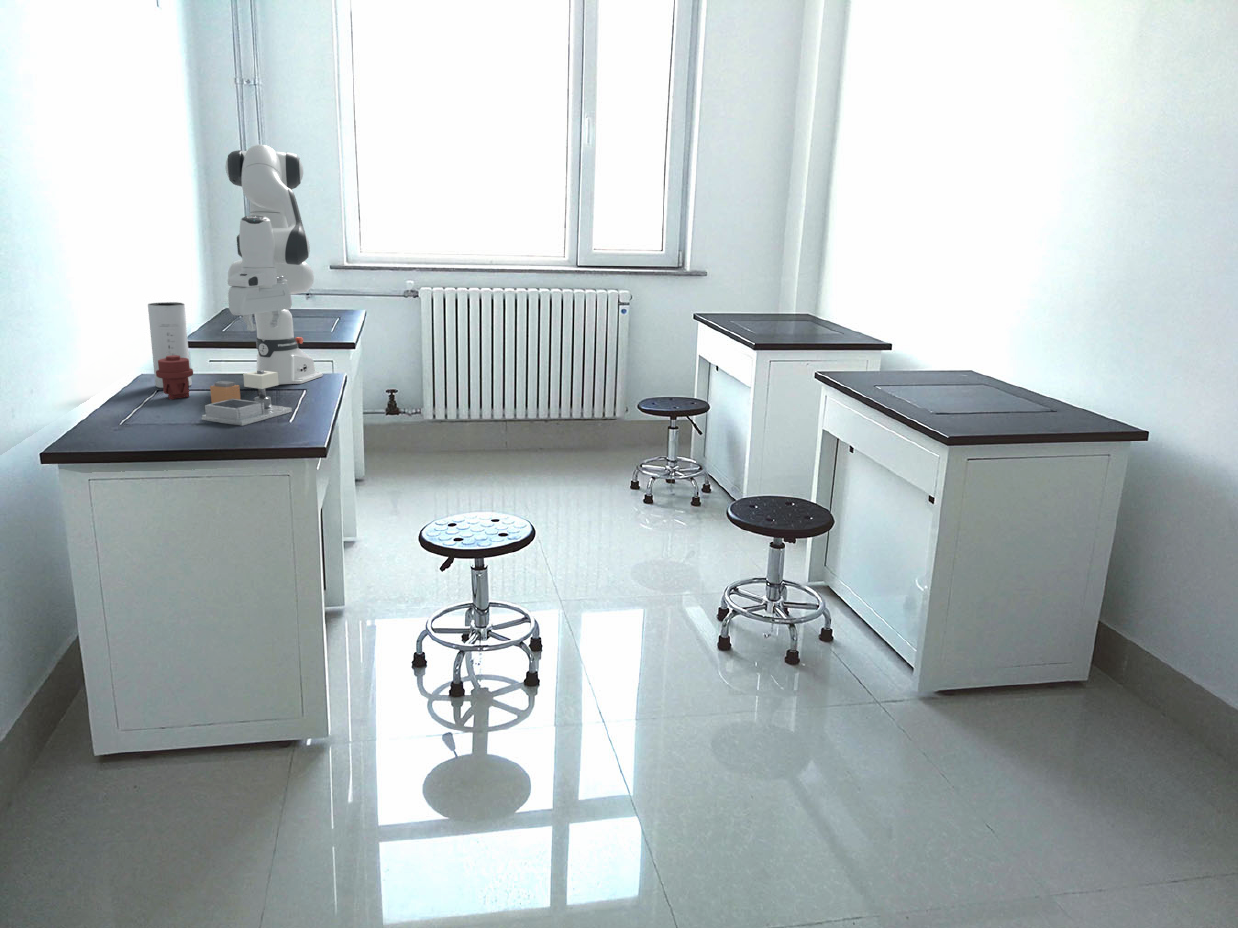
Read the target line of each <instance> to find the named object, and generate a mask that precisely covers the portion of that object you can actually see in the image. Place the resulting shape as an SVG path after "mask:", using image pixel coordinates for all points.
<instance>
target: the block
mask: <svg viewBox="0 0 1238 928" xmlns="http://www.w3.org/2000/svg"><path fill="white" fill-rule="evenodd" d="M213 383H214V385H210V386H209V390H210V401H211V404H212V403H216V402H220V401H225V400H229V399H240V400H242V399H241V390H240V389H241V388H240V385H239V384H235V383H236V382H235V381H227V380H221V381H220V380H219V381H216V382H213Z"/></svg>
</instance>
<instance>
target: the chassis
mask: <svg viewBox="0 0 1238 928" xmlns="http://www.w3.org/2000/svg"><path fill="white" fill-rule="evenodd" d="M256 371H257V370H256ZM257 374H264V371H263V370H259V371H257ZM257 389H258V390H257V391H258V396H255V397H254V398H253V400H247V399H241V398H240V399H241V400H240V399H229V400H225V401H220V402H216V403H212V402H211V403H208V404H205V405H204V411H205V414H201V420H202V421H208V422H214V423H221V424H228V425H235V426H241V427H243V426H247V425H251V424H253V423H257V422H262V421H264V420H268V419H271V418H275V417H279V416H282V415H285V414H289V413H292V412H293V410H292V409H293V408H292V407H290V406H289V407H288V406H281V405H273V404H272V398H271V396H268V395H266V388H264V389H259V388H257Z"/></svg>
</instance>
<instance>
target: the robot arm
mask: <svg viewBox="0 0 1238 928" xmlns="http://www.w3.org/2000/svg"><path fill="white" fill-rule="evenodd" d="M300 159H301V158H300V156H298V154H297V153H293V152H289V151H286V152H283V151H277V150H275V149H274V148H272V147H270V146H268V145H266V144H255V145H252V146H250V147H249V148H248V149H247V150H241V149H240V150H239V149H238V150H233V151H231V152H230V153H228V155H227V158H226V159H225V165H224V166H225V173H226V175H227V177H228V180H229V182H230V183H231V184H232V185H235V186H237V187H241V188H242V192H243V195H244V196H245V197H246V199H247V200H248V201H249V215H245V216H244V217H242V218H241V219H240V221H239V233H238V235H236V245H237V248H236V249H237V255H238V256H239V257H240V258H241V259H239V260H235V261H233V262H232V263H231V265H230V266H229V269H228V272H227V286H230V288H228V293H227V294H228V295H227V297H228V309H229V312H230V313H231V315H233V316H241V317H242V319H243V321H244V323H245V324H246V330H247V331H248V332H256V336H257V337H256V340H255V344H256V350H257V354H256V371H259V370H263V371H270V372H278V383H279V385H292V384H293V385H294V384H295V385H296V384H297V385H299V384H300V385H301V384H305V383H307V382H310V381H312V380H315V379H319V378H321V377H323V372H320V371H317V370H316V367H315V361H314V359H313V358H312V357H311V356H310V355H309V354H307V353H306V352H304V351H303V350H302V349H300V348H299V344H302V345H303V344H304V343H303V342H304V339H303V337H302V336H301V337H299V336H297V337H295V336H294V322H293V315H292V313H291V311H290V309H291V308H292V305H293V302H292V296H291V295H297V294H302V293H307V292H309V290H310V289H311V288H312V287H313V284H314V279H315V275H314V272H313V269H312V267H311V265H310V264H309V263H307V262H306V260H307V259H308V258H309V257H310V252H311V250H310V246H311V245H310V242H309V238H308V236H307V234H306V231H305V228H304V224H303V220H302V216H301V213H300V209H299V206H298V202H297V199H296V195H295V193H294V191H293V189H296V188H298V187H299V186H300V185H301V181H302V180H303V177H304V166H303V163H302V161H301V160H300ZM253 315H254V320H255V323H254V322H253V320H252V319H253Z"/></svg>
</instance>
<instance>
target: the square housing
mask: <svg viewBox="0 0 1238 928" xmlns="http://www.w3.org/2000/svg"><path fill="white" fill-rule="evenodd" d="M242 375H243V387H244V388H245V387H246V388H252V389H253V388H254V389H258V388H259V389H264V388H265V389H267V388H272V387H275V386H276V387H277V386H279V385H280V384H279V383H278V372H270V371H264V374H257V370H255V371H250V372H245V373H243V374H242Z"/></svg>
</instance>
